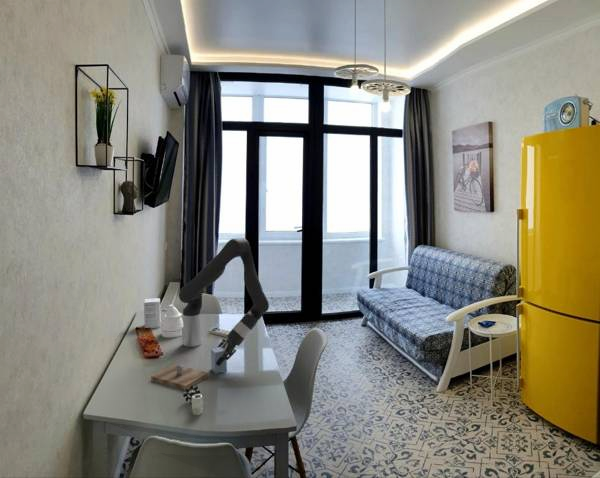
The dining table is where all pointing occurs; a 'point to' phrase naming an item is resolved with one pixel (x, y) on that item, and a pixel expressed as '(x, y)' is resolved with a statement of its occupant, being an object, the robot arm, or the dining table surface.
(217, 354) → the block
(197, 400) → the valve
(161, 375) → the post plate
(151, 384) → the dining table surface
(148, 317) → the supplement box
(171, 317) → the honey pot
